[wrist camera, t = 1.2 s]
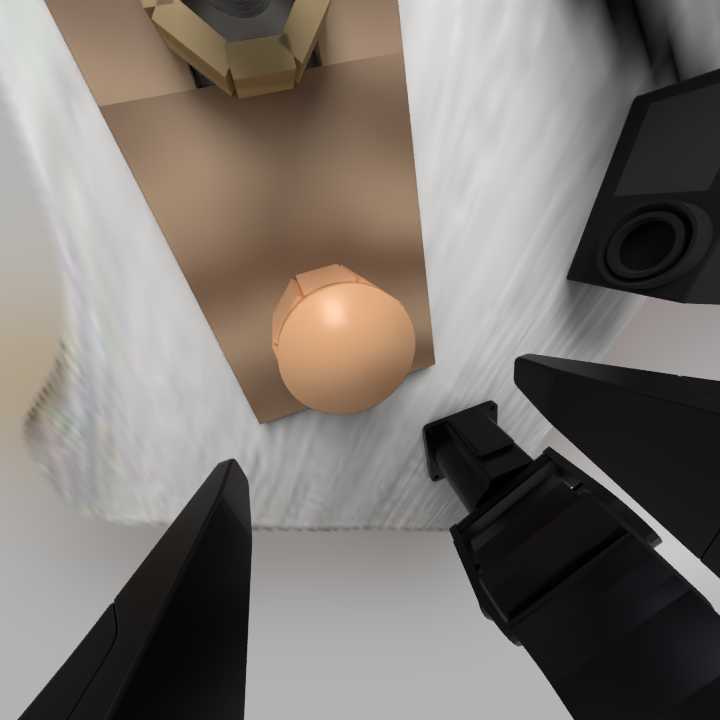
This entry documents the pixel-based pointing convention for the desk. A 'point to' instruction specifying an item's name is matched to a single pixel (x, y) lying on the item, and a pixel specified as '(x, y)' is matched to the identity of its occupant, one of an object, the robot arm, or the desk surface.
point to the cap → (341, 341)
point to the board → (264, 158)
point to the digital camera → (660, 200)
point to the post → (241, 7)
